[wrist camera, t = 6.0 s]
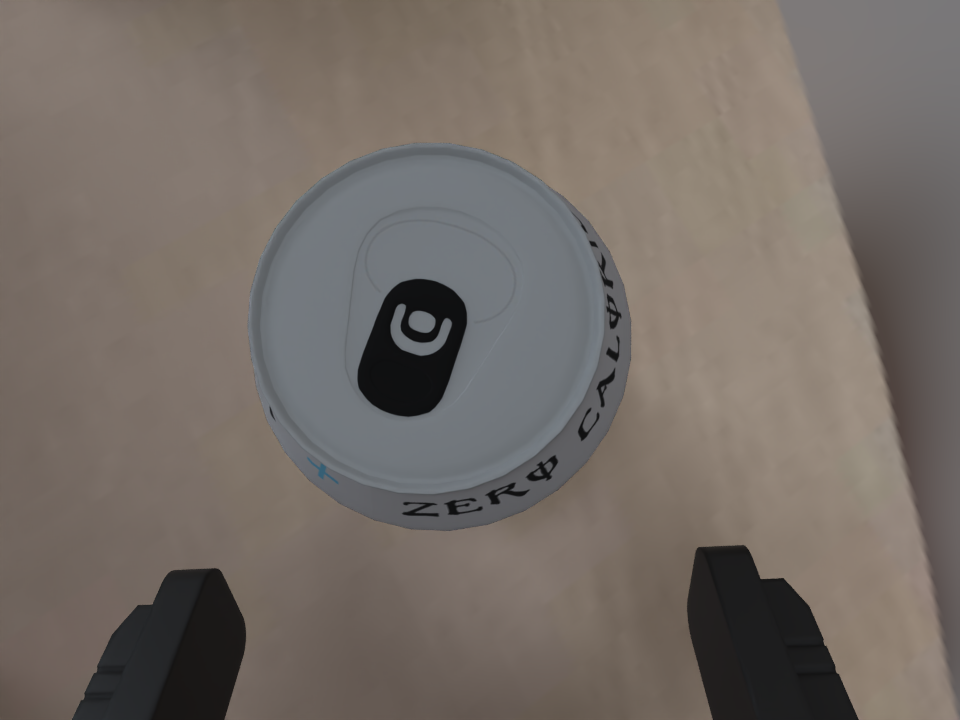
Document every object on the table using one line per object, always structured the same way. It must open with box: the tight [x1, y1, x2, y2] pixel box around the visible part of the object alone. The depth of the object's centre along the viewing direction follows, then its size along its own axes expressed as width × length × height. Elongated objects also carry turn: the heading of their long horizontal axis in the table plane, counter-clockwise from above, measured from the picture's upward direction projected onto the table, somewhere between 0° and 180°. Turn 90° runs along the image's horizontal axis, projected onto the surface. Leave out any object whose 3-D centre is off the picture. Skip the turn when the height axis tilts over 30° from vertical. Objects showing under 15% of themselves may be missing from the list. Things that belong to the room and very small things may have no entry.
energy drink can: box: [248, 143, 631, 531], centre depth 17 cm, size 6×6×15 cm
